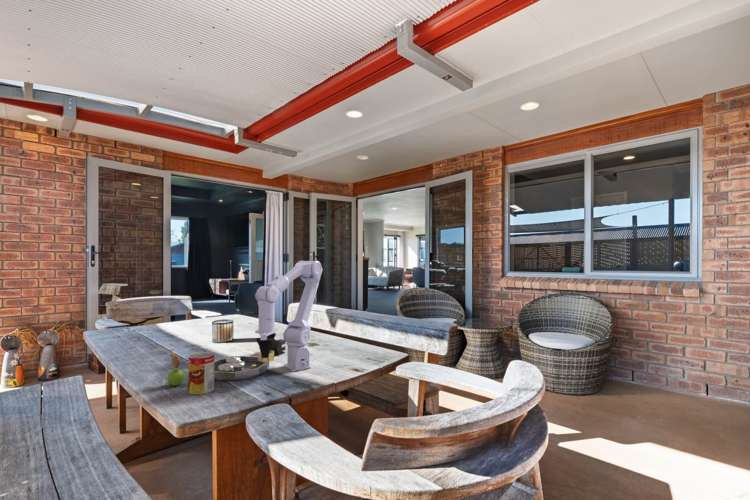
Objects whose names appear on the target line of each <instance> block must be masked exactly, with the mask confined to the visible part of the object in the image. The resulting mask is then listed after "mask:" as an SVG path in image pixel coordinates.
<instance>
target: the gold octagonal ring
mask: <svg viewBox="0 0 750 500" xmlns="http://www.w3.org/2000/svg"><path fill="white" fill-rule="evenodd" d="M257 353H258V361H260V362H269V363H270V362H273V361H275V354H274V351H272V350H270V351H269V356H268V358H262V356H261V351H260V350H259V351H258V352H257Z"/></svg>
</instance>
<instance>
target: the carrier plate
mask: <svg viewBox="0 0 750 500" xmlns="http://www.w3.org/2000/svg"><path fill="white" fill-rule="evenodd" d="M269 367H270V362H260V361H258V356H256V355H255V356H254V355H238V356H237V355H232V356H227V357H225V358H220V359H217V360H214V381H220V382H237V381H242V380H243V381H244V380H248V379H253V378H257V377H259V376H261V375H263V374H265V373H266V372H267V371H268V368H269Z"/></svg>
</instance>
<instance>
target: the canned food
mask: <svg viewBox="0 0 750 500" xmlns="http://www.w3.org/2000/svg"><path fill="white" fill-rule="evenodd" d="M187 357H188V362H187V363H188V369H187V371H188V373H187V374H188V375H187V378H188V379H187V380H188V381H187V382H188V383H187V393H188V394H189V393H190V394H189V395H192V394H200V395H205V394H208V392H209V393H212V392H213V391H214V390H215V380H214V361H215V352H213V351H205V350H204V351H197V352H193V353H191V354H189V355H188V356H187ZM212 390H213V391H212ZM204 393H205V394H204Z"/></svg>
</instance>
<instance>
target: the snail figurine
mask: <svg viewBox="0 0 750 500" xmlns="http://www.w3.org/2000/svg"><path fill="white" fill-rule="evenodd" d="M174 351H175V349H174V348H172V349H170V362H171V363H170V364H171V368H172V369H173V370H171V371H170V372H168V374H167V376H166V380H167V384H169V385H170V386H173V387H175V386H179V385H182V383H183V382H185V381H184V380H185V378H186V377H185V376H186V375H185V373H184V371H183V370H181V369H180V365H181V358H180V356H179V355H177V354H175V352H174Z"/></svg>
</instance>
